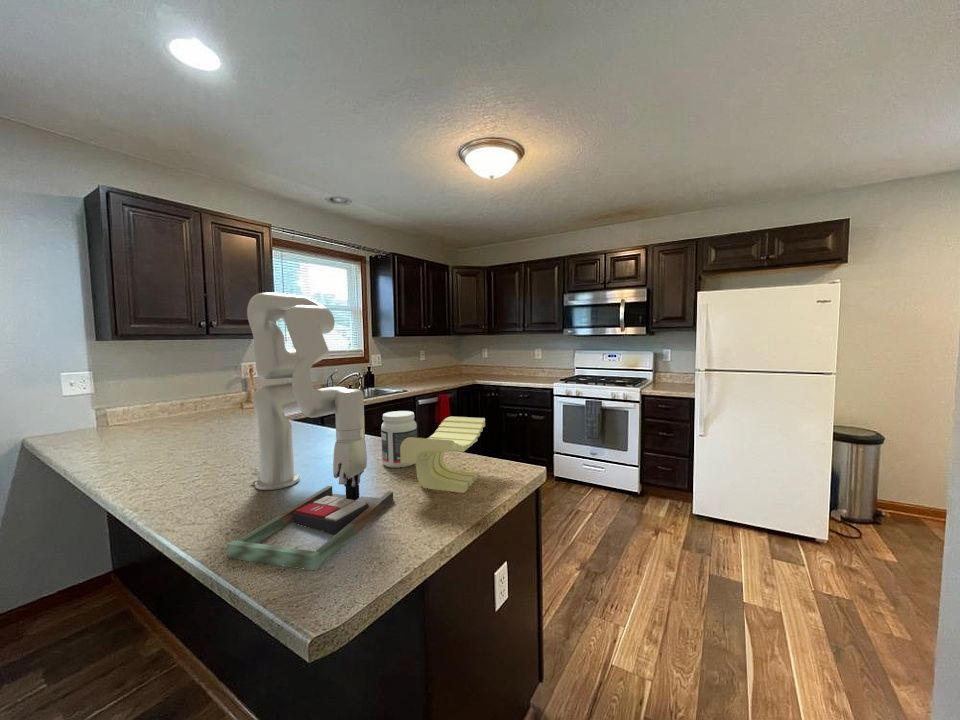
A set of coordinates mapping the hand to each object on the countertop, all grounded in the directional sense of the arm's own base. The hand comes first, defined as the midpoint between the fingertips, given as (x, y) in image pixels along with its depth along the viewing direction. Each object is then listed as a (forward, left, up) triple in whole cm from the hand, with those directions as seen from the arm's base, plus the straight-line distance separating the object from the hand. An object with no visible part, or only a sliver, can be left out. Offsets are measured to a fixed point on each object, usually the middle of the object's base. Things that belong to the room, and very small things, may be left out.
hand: (352, 498), depth 108 cm
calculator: (0, -10, -2) cm, 10 cm away
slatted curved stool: (+21, +20, -1) cm, 29 cm away
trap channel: (0, -13, -1) cm, 13 cm away
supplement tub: (-2, +34, -1) cm, 34 cm away
